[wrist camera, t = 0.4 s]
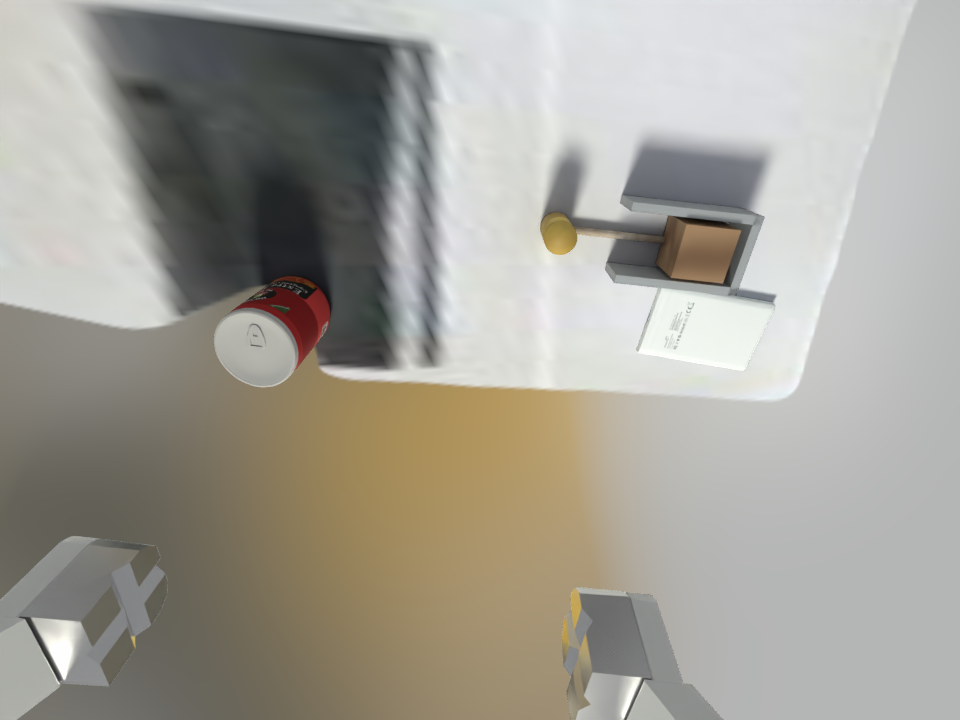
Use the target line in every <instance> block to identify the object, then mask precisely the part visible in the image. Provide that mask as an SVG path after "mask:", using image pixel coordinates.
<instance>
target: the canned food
mask: <svg viewBox="0 0 960 720" xmlns="http://www.w3.org/2000/svg"><path fill="white" fill-rule="evenodd" d="M329 322H330V306H329V303H328V300H327V298H326V296H325V294H324V293H323V292H322V291H321V289H320V288H319V287H318V286H316V285H315V284H314V283H312V282H311V281H309V280H307V279H304V278H301V277H295V276H287V277H281V278H279V279H276V280H274V281H273V282H271V283H270V284H269V285H267V286H266V287H264V288H263V289H262V290H260V291H259V292H257V293H256V294H255V295H253V296H252V297H250V298H249V299H248V300H246V301H245V302H244V303H242V304H241V305H240V306H238V307H237V308H235V309H234V310H233V311H231V312H230V313H229V314H228V315H226V316H225V317H224V318H223V319H222V320H221V322H220V323H219V324H218V326H217V328H216V331H215V335H214V346H215V350H216V353H217V356H218V358H219V360H220V362H221V363H222V364H223V366H224V367H225V368H226V369H227V371H228V372H229V373H230V374H232V375H233V376H234V377H235V378H237V379H239V380H240V381H242V382H244V383H247V384H249V385H253V386H258V387H270V386H275V385H278V384H280V383H282V382H283V381H285V380H286V379H287V378H288V377H289V376H290V375H291V374H292V373H293V372H294V371H295V370H296V369H297V367H298V366H299V365H300V364H301V362H302V361H303V360H304V358H305V357H306V356H307V355H308V353H309V352H310V351H311V350H312V348H313V347H314V346H315V345H316V343H317V342H318V341H319V340H320V338H321V337H322V336H323V335H324V333H325V332H326V330H327V328H328V326H329Z"/></svg>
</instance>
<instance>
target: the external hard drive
mask: <svg viewBox="0 0 960 720" xmlns="http://www.w3.org/2000/svg"><path fill="white" fill-rule="evenodd" d="M774 309H775V304H773V303H772V302H769V301H763V300H757V299H751V298H746V297H740V296H729V295H720V294H711V293H702V292H693V291H684V290H675V289H666V288H658V290H657V293H656V296H655V299H654V301H653V304H652V307H651V310H650V315H649V318H648V321H647V323H646V324H645V326H644V329H643V332H642V335H641V338H640V340H639V343H638V346H637V349H636V350H637V352H638V353H643V354H649V355H655V356H660V357H666V358H671V359H677V360H683V361H688V362H694V363H700V364H706V365H711V366H717V367H723V368H729V369H735V370H741V371H744V370H745V369H746V367H747V365H748V363H749V361H750V359H751V357H752V355H753V353H754V350H755V348H756V346H757V344H758V342H759V340H760V338H761V336H762V334H763V332H764V330H765V328H766V326H767V324H768V322H769V320H770V318H771V315H772V314H773V311H774Z"/></svg>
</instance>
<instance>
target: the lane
mask: <svg viewBox="0 0 960 720" xmlns="http://www.w3.org/2000/svg"><path fill="white" fill-rule="evenodd" d="M620 203H621V204H622V205H623V206H625V207H626V208H628V209H629V210H630V211H634V212H643V213H652V214H661V215H670V216H679V217H688V218H697V219H706V220H714V221H723V222H729V225H731V226H733V227H735V228H737V229H739V230H741V233H740V236H739V239H738V242H737V245H736V248H735V250H734V253H733V256H732V259H731V262H730V265H729V268H728V270H727V273H726V276H725V279H724V282H723V283H714V282H705V281H696V280H687V279H678V278H671V277H670V276H669V275H668V274H666V273H665V272H664V271H663V270H662V269H661V268H655V267H646V266H637V265H628V264H619V263H610V262H607V263H606V268H605V270H606V272H607V273H608V275H609V276H610V278H611V279H612V280H613V282H614V283H620V284H629V285H638V286H647V287H656V288H666V289H675V290H684V291H693V292H702V293H711V294H720V295H729V296H736V294H737V292H738V289H739V286H740V283H741V281H742V278H743V275H744V272H745V270H746V267H747V264H748V261H749V259H750V256H751V253H752V250H753V248H754V245H755V242H756V240H757V237H758V234H759V231H760V229H761V226H762V223H763V220H764V218H765V217H764V216H761V215H759V214H756V213H754V212H751V211H748V210H746V209H743V208H736V207H727V206H718V205H710V204H701V203H692V202H683V201H674V200H665V199H656V198H647V197H638V196H629V195H622V197H621V202H620Z"/></svg>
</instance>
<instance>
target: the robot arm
mask: <svg viewBox="0 0 960 720" xmlns="http://www.w3.org/2000/svg"><path fill="white" fill-rule="evenodd" d="M160 558H161V557H160V554H159V552H158V549H157V546H153V545H145V544H136V543H129V542H120V541H113V540H104V539H97V538H88V537H78V536H71V537H69V538H67V539H65V540H63V541H61V542H60V543H59V544H58V545H57V546H56V547H55V548H54V549H53V550H52V551H51V552H49V553H48V554H47V555H46V556H45V557H44V558H43V559H42V560H41V561H40V562H39V563H38V564H37V565H36V566H35V567H34V568H33V569H32V570H31V571H30V572H29V573H28V574H27V575H26V576H25V577H24V578H23V579H21V580H20V582H18V584H16V585H15V586H14V587H13V588H12V589H11V590H10V591H9V592H8V593H7V594H6V595H5V596H4V597H3V598H2V599H1V600H0V720H17V719H18V718H19V717H21V716H22V715H23V714H25V713H26V712H27V711H29V710H30V709H31V708H32V707H34V706H35V705H36V704H38V703H39V702H40V701H41V700H43V699H44V698H46V697H47V696H48V695H49V694H51V693H52V692H53V691H55V690H56V689H57V688H59V687H60V684H59V683H67V684H82V685H98V686H110V684H111V683H112V682H113V681H114V679H115V678H116V676H117V675H118V673H119V672H120V670H121V669H122V667H123V666H124V664H125V663H126V661H127V660H128V659H129V657H130V656H131V654H132V653H133V651H134V650H135V636H136V635H138V634H139V633H141V632H142V631H144V630H145V629H146V628H148V627H150V626H151V625H152V623H153V622H154V620H155V619H156V617H157V616H158V614H159V613H160V611H161V609H162V606H163V604H164V601H165V598H166V596H167V588H168V581H167V578H166V574H165V573H164V572H163V571H162V570H161V569H159V568H158V567H157V566H156V564H157V562H158V561H159V559H160ZM570 603H571V611H569V612H568V613H566V615H565V619H564V623H563V631H562V654H563V664H564V667H565V669H566V670H567V671H568V673H569V674H570V675H571V679H570V682H569V685H568V689H567V699H568V707H569V715H570V720H723V719H722V718H721V717H720V715H719V714H718V713H717V712H716V711H715V710H714V709H713V708H712V707H711V706H710V704H709V703H708V702H707V701H706V700H705V699H704V698H703V697H702V695H701V694H700V693H699V692H698V691H697V690H696V689H695V687H694V686H693V685H691V684H685V683H683V680H682V677H681V674H680V671H679V668H678V665H677V662H676V659H675V656H674V653H673V650H672V647H671V644H670V641H669V638H668V635H667V632H666V629H665V626H664V623H663V619H662V617H661V613H660V611H659V607H658V604H657V601H656V600H655V598H654V597H653V596H652V595H649V594H639V593H628V592H624V591H614V590H602V589H591V588H579V587H575V588H574V590H573V591H572V594H571V597H570Z"/></svg>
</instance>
